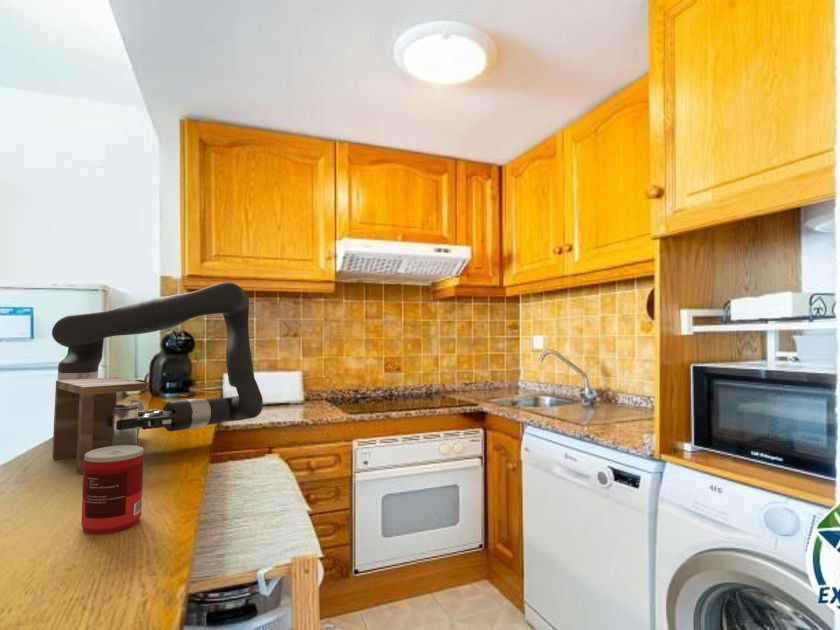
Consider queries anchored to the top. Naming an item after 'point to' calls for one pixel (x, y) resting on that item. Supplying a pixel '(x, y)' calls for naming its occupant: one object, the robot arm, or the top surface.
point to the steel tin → (128, 434)
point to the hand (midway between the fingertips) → (112, 423)
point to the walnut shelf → (86, 415)
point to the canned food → (112, 488)
